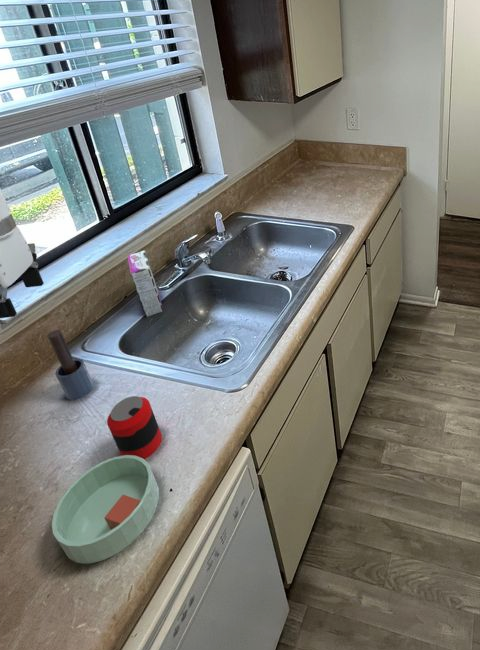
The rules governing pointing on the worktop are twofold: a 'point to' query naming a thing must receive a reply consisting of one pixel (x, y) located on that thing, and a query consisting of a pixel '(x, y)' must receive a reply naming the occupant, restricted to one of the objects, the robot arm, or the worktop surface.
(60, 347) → the stirring stick
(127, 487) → the bowl
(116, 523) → the block
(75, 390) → the utensil holder
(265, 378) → the worktop surface
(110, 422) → the soda can
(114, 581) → the worktop surface
